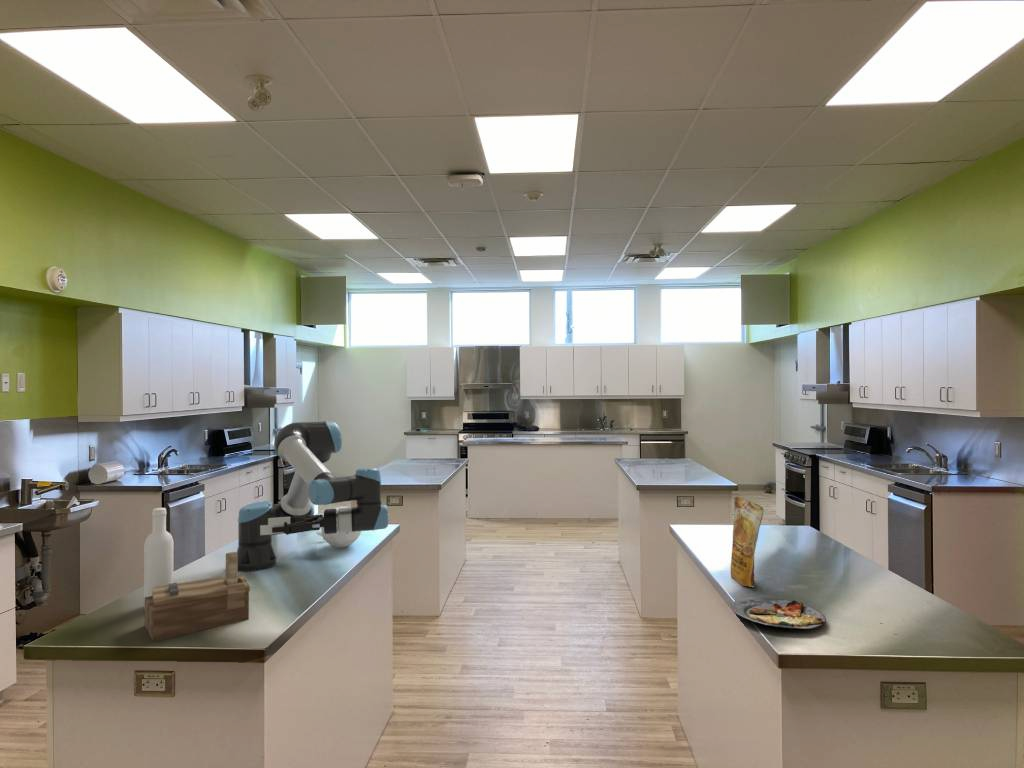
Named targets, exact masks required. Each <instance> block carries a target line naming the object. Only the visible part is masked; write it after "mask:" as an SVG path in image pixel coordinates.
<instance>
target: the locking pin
mask: <svg viewBox="0 0 1024 768" xmlns="http://www.w3.org/2000/svg"><path fill="white" fill-rule="evenodd" d="M238 572H239V571H238V553H237V551H232V552H228V553H225V576H226V585H230V584H236V583H238V574H239V573H238Z"/></svg>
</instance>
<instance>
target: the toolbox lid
mask: <svg viewBox="0 0 1024 768" xmlns="http://www.w3.org/2000/svg"><path fill="white" fill-rule="evenodd" d="M250 589H251V586H250V584H249V582H248V580H247V579H246V577H245V576H244V574H243V573H238V583H236V584H230V585H226V575H225V576H219V577H218V576H217V577H212V578H204V579H200V580H194V581H193V580H192V581H185V582H180V583H178V582H173V583H171V584H169V585H166V586H159V587H153V588H152V596H153V607H160V606H166V605H172V604H178V603H184V602H190V601H196V600H201V599H207V598H213V597H219V596H225V595H231V594H237V593H243V592H249V593H250V592H251V590H250Z"/></svg>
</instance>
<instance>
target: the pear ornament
mask: <svg viewBox="0 0 1024 768" xmlns="http://www.w3.org/2000/svg"><path fill="white" fill-rule="evenodd" d="M339 508H348V507H346V506H339V507H336V508H334V509H337V510H338V509H339ZM361 532H362V531H356V532H355V531H354V532H349V534H346V532H343V533H339V531H337V533H333V534H325V533H324V527H320V530H317V531H316V535H317V536H320V537H322V539H323V540H324V541H325V542H326V543H327V544H328V545H329V546H331V547H332V548H346V547H348V546H350V545H352V544H353V543H354V542H356V541H357V540H358V538H359V537H360V535H361Z"/></svg>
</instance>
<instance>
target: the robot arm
mask: <svg viewBox="0 0 1024 768" xmlns="http://www.w3.org/2000/svg"><path fill="white" fill-rule="evenodd" d="M274 438H275V439H274V443H273V444H274V450H275V453H276V454H277V456H278V457H279V458H280V459H281V460H283V461H284V462H287V463H289V465H290V466H291V467H292V468H293V469H294V475H293V478H292V480H291V483H290V486H289V489H288V492H287V493H286V494H284V495H283V496H282V497H281V499H280V502H279V503H276V504H275V503H274V504H273V503H272V501H268V500H267V501H266V500H265V501H257V502H253V503H252V502H251V503H250V504H249V503H248V504H246V505H244V506H242V507H241V508H240V509H239V511H238V517H237V518H238V519H237V522H238V529H237V530H238V536H237V537H238V538H237V539H238V545H237V546H238V547H237V549H236V552H237V553H238V572H256V571H262V570H265V569H270V568H273V567H275V566H276V565H277V555H276V553H275V550H274V547H273V543H272V538H273V536H275V535H276V536H278V535H283V534H285V535H287V536H288V535H292V534H293V535H294V534H298V533H305V532H312V531H321V527H324V533H325V534H333V533H337V531H339V533H343V532H346V534H349V532H354V531H355V532H356V531H361V532H366V531H367V532H369V531H373V532H374V531H377V530H385V529H386V528H388V526H389V506H388V505H387V504H382V500H381V497H382V496H381V495H382V494H381V493H382V486H381V485H382V480H381V471H380V469H379V468H377V467H361V468H357V469H356V471H355V474H354V475H348V476H341V477H340V476H339V477H336V476H335V475H334V474H333V473H332V472H331V471H330V469H328V468H327V467H326V466H325V463H327V462H328V461H329V460H331V456H332V455H333V454H337V453H339V452H340V451H341V450H342V445H343V439H342V438H343V437H342V433H341V430H340V427H339V425H338V424H337V423H336V422H334V421H326V420H323V421H305V422H291V423H289V424H287V425H285V426H283V427H282V428H280V430H279V431H278V432H277V434H276V435H275V437H274ZM351 501H356V506H353V507H351V506H350V507H348V508H339V509H338V510H337V509H335V508H328V509H327V508H326V509H324V511H323V514H314V513H315V512H314V511H315V509H314V506H313V505H315V506H319V505H323V506H327V505H329V504H331V505H332V504H338V503H345V502H351Z"/></svg>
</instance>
